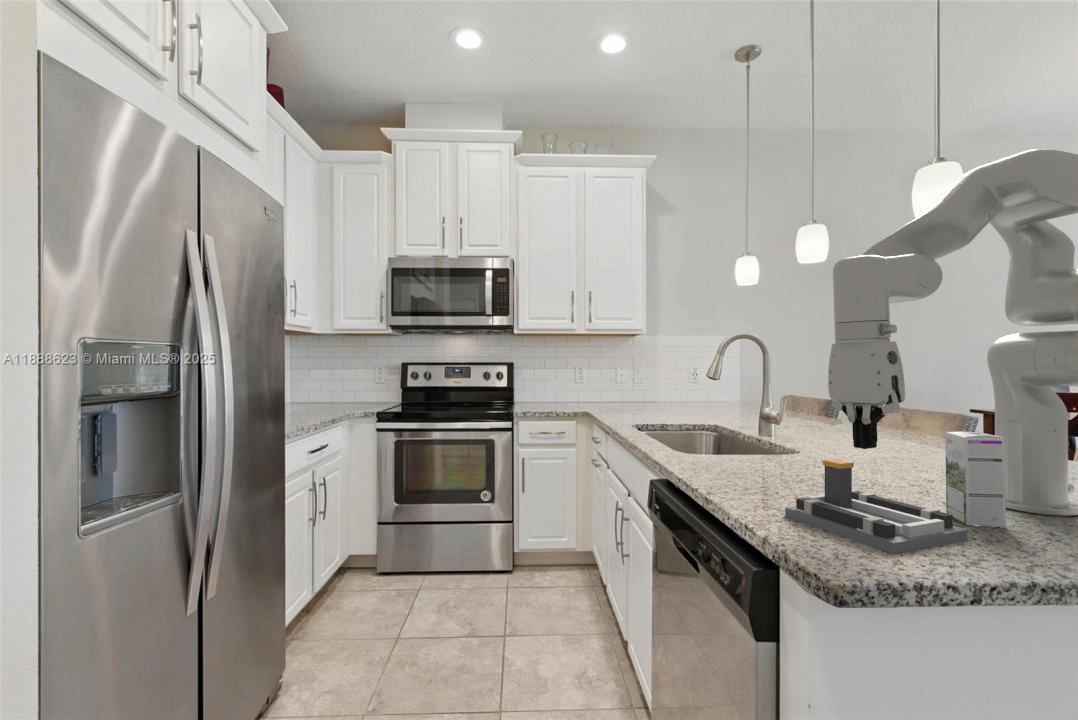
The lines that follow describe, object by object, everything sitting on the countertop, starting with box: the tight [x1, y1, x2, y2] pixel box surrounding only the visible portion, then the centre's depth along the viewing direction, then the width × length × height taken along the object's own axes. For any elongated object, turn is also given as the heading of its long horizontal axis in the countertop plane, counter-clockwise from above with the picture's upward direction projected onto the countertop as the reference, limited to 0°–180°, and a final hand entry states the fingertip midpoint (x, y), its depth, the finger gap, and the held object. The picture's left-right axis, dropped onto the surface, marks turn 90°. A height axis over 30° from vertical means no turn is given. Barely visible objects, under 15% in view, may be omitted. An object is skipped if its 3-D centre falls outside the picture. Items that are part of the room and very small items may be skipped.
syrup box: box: [944, 430, 1007, 529], centre depth 82 cm, size 6×6×14 cm
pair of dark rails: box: [795, 490, 954, 539], centre depth 79 cm, size 15×15×2 cm
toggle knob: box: [822, 458, 855, 509], centre depth 85 cm, size 3×3×8 cm
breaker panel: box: [784, 494, 969, 555], centre depth 79 cm, size 16×18×3 cm
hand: (865, 447), depth 81 cm, fingers closed
